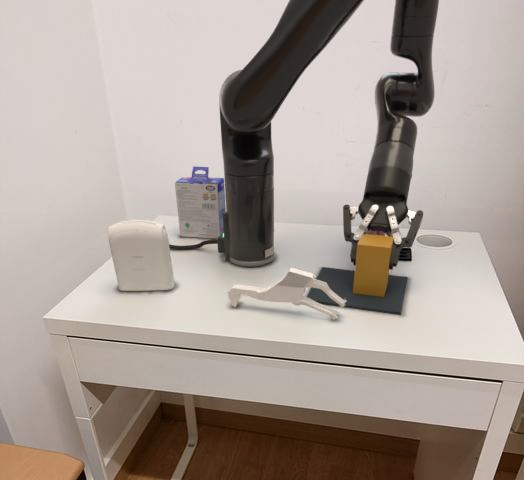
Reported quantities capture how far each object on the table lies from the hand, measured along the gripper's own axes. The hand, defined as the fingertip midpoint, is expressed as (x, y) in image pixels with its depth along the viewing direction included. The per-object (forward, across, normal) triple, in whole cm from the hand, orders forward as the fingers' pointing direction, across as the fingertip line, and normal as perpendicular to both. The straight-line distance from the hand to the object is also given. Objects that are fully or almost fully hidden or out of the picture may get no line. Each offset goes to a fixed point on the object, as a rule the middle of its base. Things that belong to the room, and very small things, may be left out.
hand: (372, 265), depth 82 cm
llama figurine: (+11, -12, -4) cm, 17 cm away
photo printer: (+10, -39, -3) cm, 41 cm away
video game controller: (-13, -1, +20) cm, 24 cm away
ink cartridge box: (-10, -40, +17) cm, 44 cm away
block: (+3, 0, +4) cm, 5 cm away
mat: (+3, -2, +4) cm, 6 cm away
